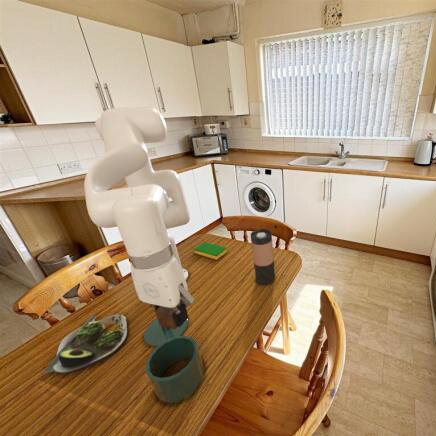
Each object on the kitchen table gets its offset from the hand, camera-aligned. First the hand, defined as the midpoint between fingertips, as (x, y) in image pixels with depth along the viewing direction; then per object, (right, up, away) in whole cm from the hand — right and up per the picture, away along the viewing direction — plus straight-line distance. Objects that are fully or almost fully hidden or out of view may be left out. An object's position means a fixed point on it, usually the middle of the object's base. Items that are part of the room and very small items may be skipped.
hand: (173, 319), depth 56 cm
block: (0, 0, 0) cm, 0 cm away
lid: (-10, -10, +16) cm, 21 cm away
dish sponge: (-10, +8, +55) cm, 56 cm away
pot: (0, -16, +3) cm, 16 cm away
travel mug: (+18, 0, +37) cm, 41 cm away
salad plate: (-29, -13, +12) cm, 34 cm away
